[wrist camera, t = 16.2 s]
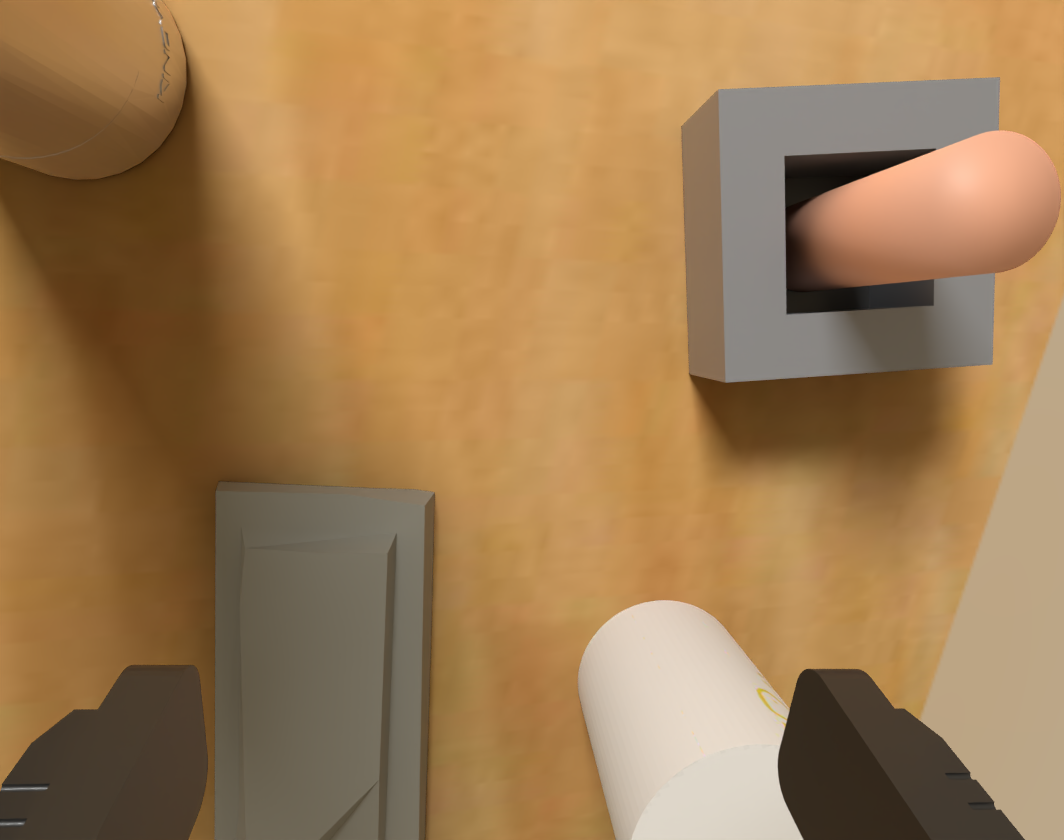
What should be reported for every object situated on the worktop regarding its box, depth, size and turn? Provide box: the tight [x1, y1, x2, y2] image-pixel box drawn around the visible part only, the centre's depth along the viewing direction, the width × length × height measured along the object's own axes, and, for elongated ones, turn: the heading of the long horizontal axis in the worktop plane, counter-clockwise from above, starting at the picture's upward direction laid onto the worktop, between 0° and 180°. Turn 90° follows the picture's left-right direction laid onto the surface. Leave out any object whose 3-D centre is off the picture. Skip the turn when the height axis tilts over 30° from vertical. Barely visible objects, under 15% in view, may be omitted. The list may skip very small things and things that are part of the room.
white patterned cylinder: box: [578, 600, 803, 840], centre depth 29 cm, size 8×8×12 cm
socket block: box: [681, 77, 1000, 383], centre depth 30 cm, size 11×11×5 cm
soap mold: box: [215, 481, 435, 840], centre depth 33 cm, size 10×20×4 cm, turn 177°
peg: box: [785, 131, 1061, 292], centre depth 27 cm, size 4×4×12 cm
